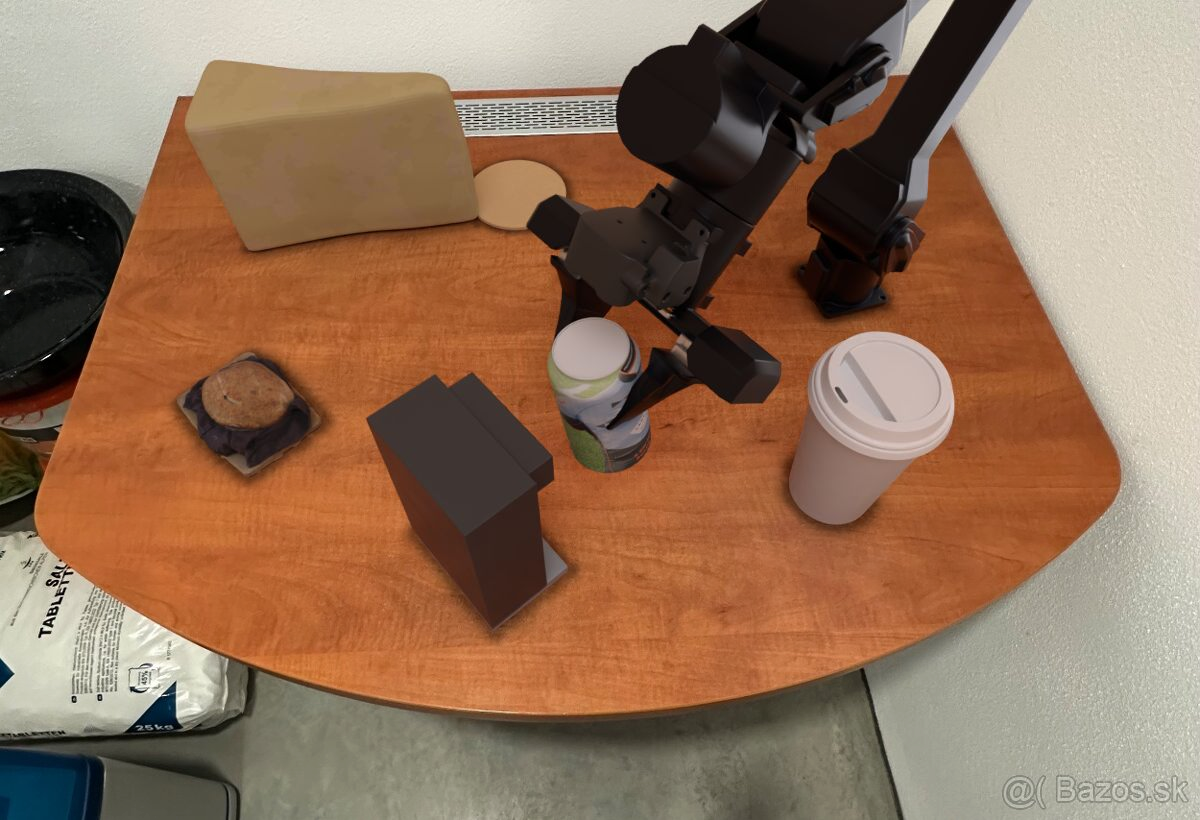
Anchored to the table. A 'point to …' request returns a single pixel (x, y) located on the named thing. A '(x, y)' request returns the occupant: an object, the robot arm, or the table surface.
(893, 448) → the coffee cup
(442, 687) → the table surface
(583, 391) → the beverage can
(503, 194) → the coaster
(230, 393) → the bread roll
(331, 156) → the tan wedge block
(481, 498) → the coffee machine
